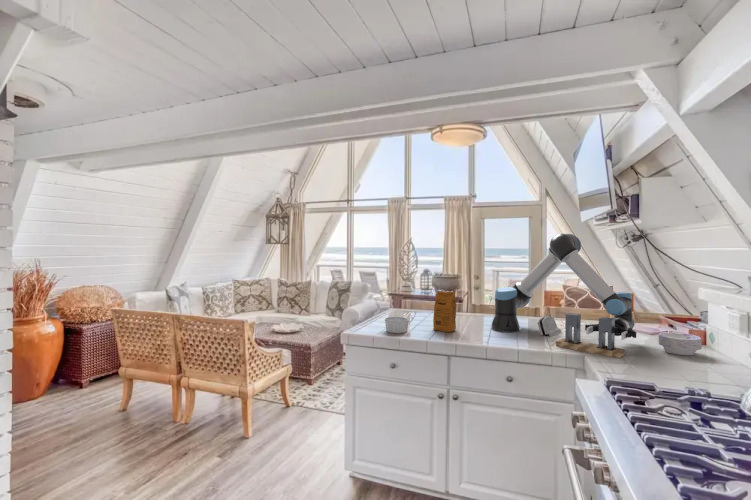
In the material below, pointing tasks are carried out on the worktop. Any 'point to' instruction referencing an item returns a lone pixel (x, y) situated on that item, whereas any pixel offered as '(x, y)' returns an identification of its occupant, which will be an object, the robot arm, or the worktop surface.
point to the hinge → (548, 326)
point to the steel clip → (604, 327)
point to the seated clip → (575, 322)
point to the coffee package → (445, 312)
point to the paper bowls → (680, 343)
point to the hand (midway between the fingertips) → (604, 333)
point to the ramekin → (396, 324)
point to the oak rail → (591, 348)
